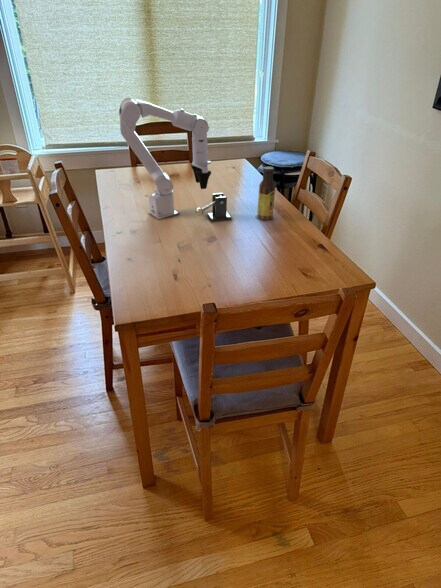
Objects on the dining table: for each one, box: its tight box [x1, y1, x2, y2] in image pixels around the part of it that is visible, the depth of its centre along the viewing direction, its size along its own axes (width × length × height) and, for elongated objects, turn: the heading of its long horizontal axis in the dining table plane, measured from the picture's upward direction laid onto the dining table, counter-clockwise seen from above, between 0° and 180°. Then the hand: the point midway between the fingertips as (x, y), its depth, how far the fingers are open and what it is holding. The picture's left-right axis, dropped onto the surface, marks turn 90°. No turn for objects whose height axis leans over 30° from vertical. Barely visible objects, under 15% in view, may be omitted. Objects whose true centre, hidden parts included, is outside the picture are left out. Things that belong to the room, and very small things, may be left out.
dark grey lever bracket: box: [207, 192, 232, 223], centre depth 160 cm, size 8×6×9 cm
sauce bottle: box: [257, 166, 276, 221], centre depth 157 cm, size 7×6×20 cm
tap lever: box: [195, 195, 222, 217], centre depth 158 cm, size 12×3×3 cm, turn 107°
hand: (201, 185), depth 163 cm, fingers open, 7 cm apart
